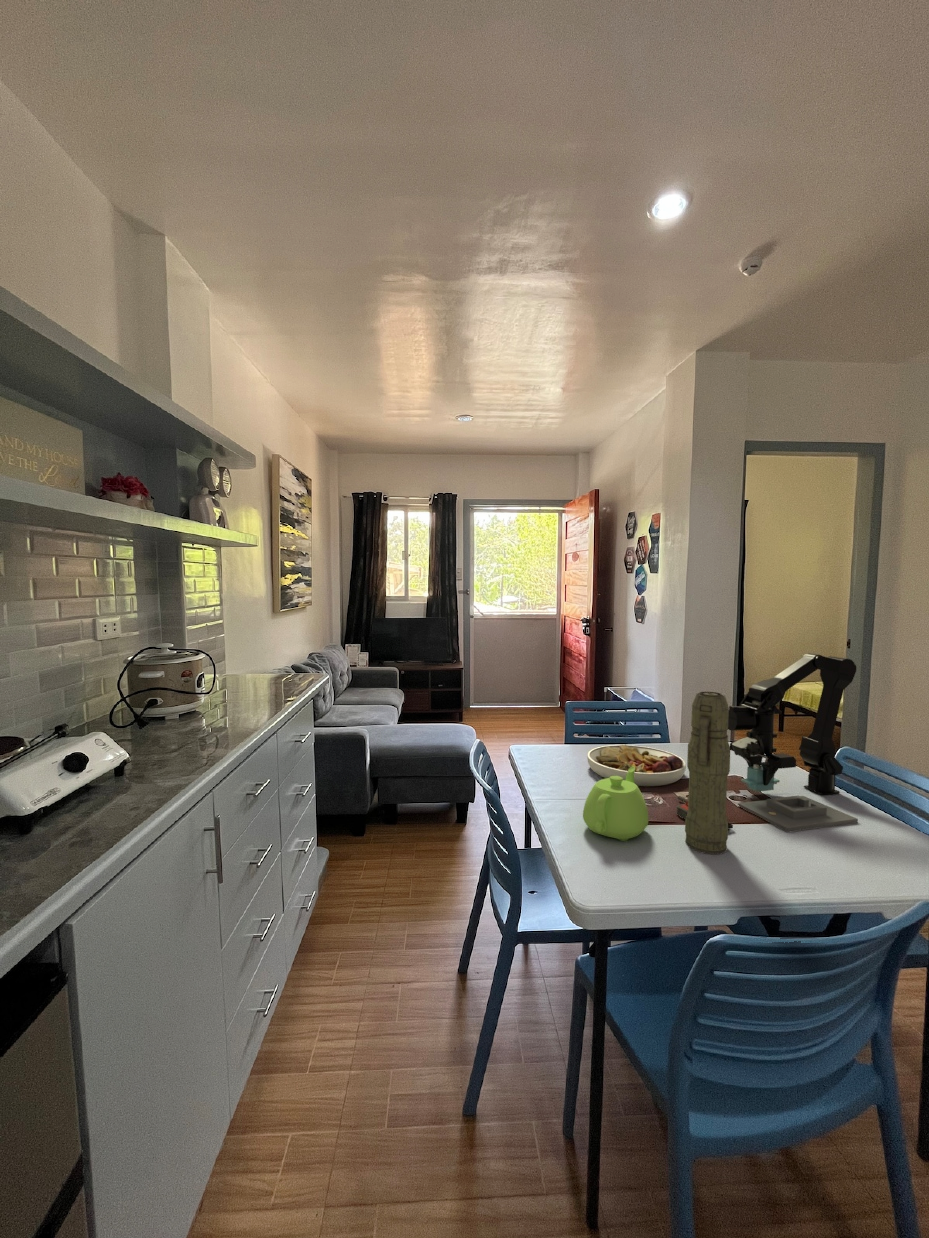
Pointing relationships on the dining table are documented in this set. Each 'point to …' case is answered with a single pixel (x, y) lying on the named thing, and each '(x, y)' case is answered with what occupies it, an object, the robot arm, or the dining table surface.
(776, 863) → the dining table surface
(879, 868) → the dining table surface
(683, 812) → the walkie-talkie
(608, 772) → the bowl
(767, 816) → the plate
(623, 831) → the teapot
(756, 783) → the servo
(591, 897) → the dining table surface
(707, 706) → the thermos
